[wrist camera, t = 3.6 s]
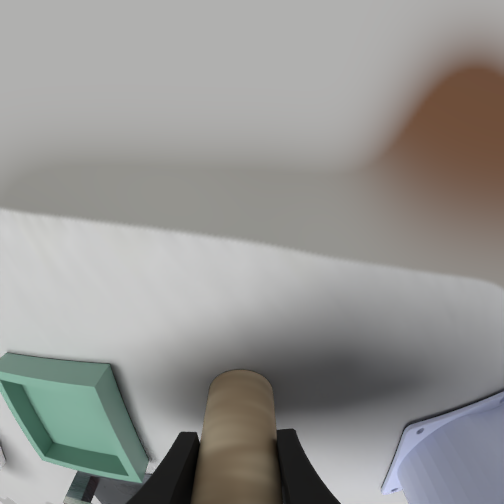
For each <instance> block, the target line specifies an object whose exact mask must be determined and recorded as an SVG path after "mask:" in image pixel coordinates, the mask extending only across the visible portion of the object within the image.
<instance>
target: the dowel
mask: <svg viewBox="0 0 504 504" xmlns="http://www.w3.org/2000/svg"><path fill="white" fill-rule="evenodd" d="M190 504H283V498H282V487H281V475H280V466H279V460H278V449H277V433H276V419H275V408H274V397H273V389H272V386H271V384H270V383H269V381H268V380H267V379H266V378H265V377H263V376H262V375H260V374H258V373H256V372H253V371H249V370H231V371H227V372H224V373H222V374H220V375H219V376H217V377H216V378H215V379H214V380H213V382H212V383H211V385H210V388H209V393H208V399H207V405H206V411H205V417H204V423H203V428H202V434H201V440H200V447H199V453H198V459H197V465H196V471H195V477H194V484H193V490H192V496H191V503H190Z"/></svg>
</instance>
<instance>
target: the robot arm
mask: <svg viewBox="0 0 504 504" xmlns="http://www.w3.org/2000/svg"><path fill="white" fill-rule="evenodd" d="M276 433H277V449H278V460H279V466H280V475H281V487H282V498H283V504H341V503H340V502H339V501H338V500H337V499H336V498H335V497H334V495H333V494H332V493H331V492H330V491H329V489H328V488H327V487H326V485H325V484H324V483H323V481H322V480H321V479H320V477H319V476H318V474H317V473H316V471H315V469H314V468H313V466H312V465H311V463H310V461H309V460H308V458H307V456H306V454H305V452H304V450H303V448H302V446H301V444H300V442H299V439H298V437H297V434H296V430H294V429H282V430H276ZM199 447H200V442H199V439H198V435H197V432H181V433H179V435H178V437H177V438H176V440H175V442H174V443H173V445H172V447H171V448H170V450H169V451H168V453H167V455H166V456H165V458H164V459H163V460H162V462H161V463H160V465H159V466H158V467H157V469H156V470H155V471H154V473H153V474H152V475H151V476H150V478H149V479H148V480H147V481H146V482H145V484H144V485H143V486H142V487H141V488H140V489H139V490H138V491H137V493H136V494H135V495H134V496H133V497H132V498H131V499H130V500H128V501H127V502H126V503H125V504H190V503H191V496H192V490H193V484H194V477H195V471H196V465H197V459H198V453H199ZM401 490H403V491H404V494H405V496H406V499H407V501H408V504H504V391H503V392H501V393H499V394H496V395H494V396H492V397H489V398H487V399H484V400H482V401H479V402H477V403H474V404H472V405H469V406H466V407H464V408H461V409H458V410H455V411H453V412H450V413H447V414H444V415H441V416H438V417H434V418H431V419H428V420H425V421H421V422H418V423H414V424H411V425H409V426H408V427H407V428H406V429H405V430H404V432H403V435H402V438H401V441H400V444H399V446H398V449H397V452H396V455H395V457H394V460H393V462H392V465H391V467H390V470H389V472H388V475H387V477H386V480H385V482H384V484H383V487H382V489H381V493H382V494H383V495H386V494H390V493H394V492H397V491H401Z"/></svg>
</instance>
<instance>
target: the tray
mask: <svg viewBox="0 0 504 504" xmlns="http://www.w3.org/2000/svg"><path fill="white" fill-rule="evenodd" d="M0 392H1V394H2V396H3V398H4V400H5V401H6V403H7V405H8V407H9V409H10V410H11V412H12V414H13V416H14V417H15V419H16V421H17V422H18V424H19V426H20V427H21V429H22V431H23V432H24V434H25V435H26V437H27V439H28V440H29V442H30V443H31V445H32V446H33V448H34V449H35V451H36V452H37V453H38V455H39V456H40V458H41V459H42V460H44V461H47V462H50V463H53V464H56V465H60V466H63V467H67V468H71V469H74V470H78V471H82V472H86V473H90V474H95V475H99V476H104V477H109V478H114V479H119V480H125V481H131V482H138V483H142V482H143V478H144V475H145V472H146V468H147V465H148V462H149V460H148V458H147V456H146V454H145V451H144V449H143V447H142V445H141V443H140V441H139V438H138V436H137V434H136V432H135V429H134V427H133V425H132V422H131V420H130V418H129V415H128V413H127V410H126V408H125V405H124V403H123V400H122V398H121V395H120V392H119V390H118V387H117V384H116V381H115V379H114V376H113V373H112V370H111V367H110V364H102V363H88V362H76V361H66V360H56V359H48V358H39V357H32V356H25V355H18V354H11V353H6V354H5V355H3V356H2V357H1V358H0Z"/></svg>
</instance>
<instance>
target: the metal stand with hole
mask: <svg viewBox="0 0 504 504" xmlns="http://www.w3.org/2000/svg"><path fill="white" fill-rule="evenodd" d="M150 476H151V475H150V474H145V475H144V478H143V482H142V483H138V482H131V481H125V480H119V479H114V478H109V477H104V476H99V475H95V474H90V473H86V472H82V471H77V473H76V475H75V477H74V480H73V482H72V484H71V486H70V488H69V490H68V492H67V494H66V497H65V499H64V501H63V503H64V504H92V503H91V501H92V498H93V496H94V495H95V496H96V497H97V499H98V500H99V501H100V502H101V504H125V503H126V502H127V501H128V500H130V499H131V498H132V497H133V496H134V495H135V494H136V493H137V491H138V490H139V489H140V488H141V487H142V486H143V485H144V484H145V482H146V481H147V480H148V479H149V478H150Z"/></svg>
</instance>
